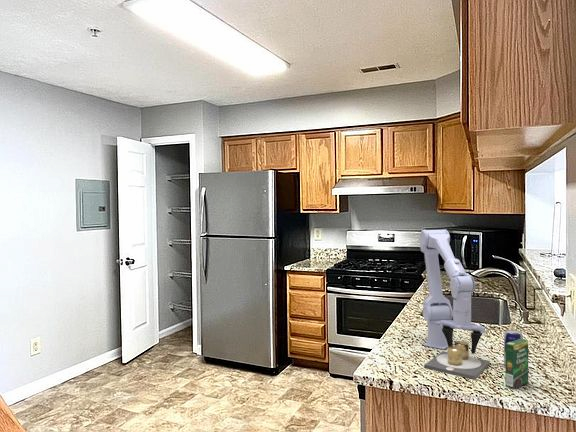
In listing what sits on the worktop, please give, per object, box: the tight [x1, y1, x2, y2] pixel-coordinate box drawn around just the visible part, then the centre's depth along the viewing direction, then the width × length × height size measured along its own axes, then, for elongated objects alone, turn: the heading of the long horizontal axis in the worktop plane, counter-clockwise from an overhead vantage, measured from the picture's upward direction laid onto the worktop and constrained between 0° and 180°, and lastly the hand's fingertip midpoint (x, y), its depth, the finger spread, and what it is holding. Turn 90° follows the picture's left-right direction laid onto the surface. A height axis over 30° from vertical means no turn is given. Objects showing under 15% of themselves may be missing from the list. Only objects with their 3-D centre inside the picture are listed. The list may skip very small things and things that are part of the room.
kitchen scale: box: [423, 350, 491, 380], centre depth 149 cm, size 17×16×2 cm
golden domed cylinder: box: [447, 345, 462, 366], centre depth 147 cm, size 4×4×5 cm
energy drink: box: [503, 329, 524, 369], centre depth 146 cm, size 5×5×12 cm
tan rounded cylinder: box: [454, 340, 470, 360], centre depth 152 cm, size 4×4×5 cm
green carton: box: [504, 338, 529, 390], centre depth 133 cm, size 8×3×13 cm, turn 122°
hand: (461, 350), depth 152 cm, fingers open, 7 cm apart
